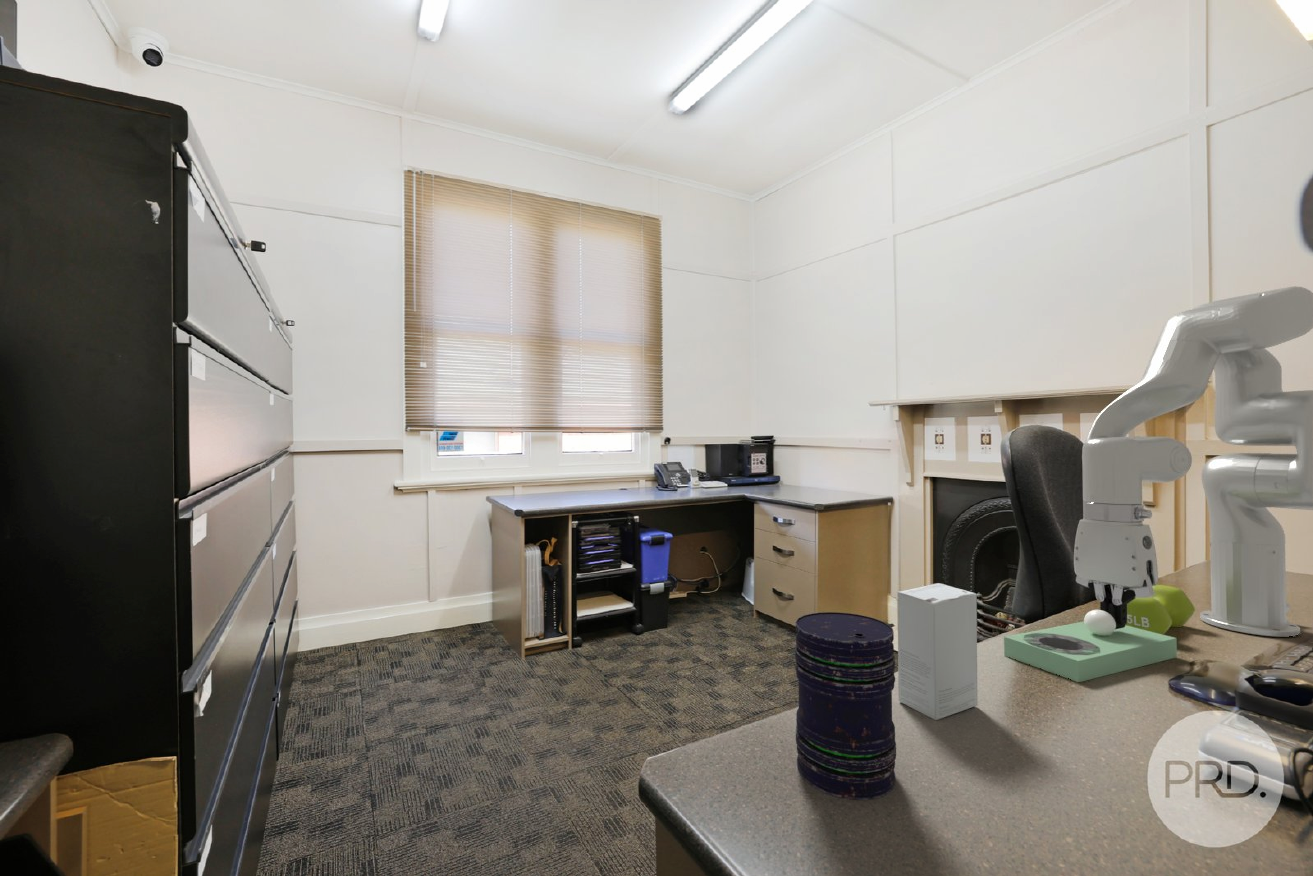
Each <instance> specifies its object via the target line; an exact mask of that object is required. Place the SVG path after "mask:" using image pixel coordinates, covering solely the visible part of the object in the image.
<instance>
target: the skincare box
mask: <svg viewBox="0 0 1313 876" xmlns="http://www.w3.org/2000/svg"><path fill="white" fill-rule="evenodd" d="M896 593H897V668H898V669H897V671H898V672H897V673H898V676H897V677H898V680H897V681H898V682H897V683H898V685H897V687H898V688H897V689H898V701H899V702H900V703H901V704H904V705H905V706H907V707H909V708H910V709H911V708H912V709H913V710H915V711H916V712H919V713H921V714H923V715H924V716H926V717H929V718H931V719H932V720H934V721H938V720H941V719H943V718H945V717H949V716H951V715H954V714H956V713H960V712H962V711H966V710H969V709H970V708H974V707H976V706H978V705H979V704H978V703H979V702H978V692H979V691H978V630H977V629H978V621H977V620H978V617H977V615H978V614H977V613H978V612H977V607H978V606H977V599H978V597H977V596H978V595H977V593H975V592H972V591H969V590H965V589H961V588H957V587H954V586H951V585H947V584H944V583H939V582H937V583H931V584H928V585H925V586H920V587H914V588H911V589H905V590H899V591H897V592H896Z"/></svg>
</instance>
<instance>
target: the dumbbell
mask: <svg viewBox="0 0 1313 876" xmlns="http://www.w3.org/2000/svg"><path fill="white" fill-rule="evenodd" d="M1152 587H1153V590H1154V594H1155V595H1154V596H1153V597H1148V598H1135V599H1134V600H1132V601H1131V602H1130V603H1128V604H1127V623H1126V624H1125V625H1127V626H1131V627H1135V628H1139V629H1143V630H1146V631H1150V632H1154V633H1158V634H1162V635H1166V633H1167V632H1168V630H1169V629H1170V627H1171V628H1180V627H1183V626H1184V625H1185V624H1186V623H1188V621H1189V620H1190V619H1191V618H1192V617H1193V615H1194V614H1195V611H1196V608H1195V606H1194V604H1193V602H1192V601H1191V600H1190V598H1189V596H1188V595H1187V594H1186V593H1185V592H1184V591H1183V590H1182V589H1181V588H1179V587H1175V586H1172V585H1171V586H1169V585H1163V584H1157V585H1155V586H1152Z"/></svg>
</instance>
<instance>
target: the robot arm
mask: <svg viewBox="0 0 1313 876" xmlns="http://www.w3.org/2000/svg"><path fill="white" fill-rule="evenodd" d="M1312 329H1313V292H1312V291H1311V290H1310V289H1308V288H1306V287H1302V286H1287V287H1283V288H1281V287H1280V288H1276V289H1272V290H1266V291H1261V292H1256V293H1251V294H1245V295H1240V296H1234V297H1228V298H1225V299H1218V300H1215V301H1211V302H1210V301H1209V302H1208V303H1204V304H1201V305H1199V306H1196V307H1194V308H1192V309H1188V310H1185V311H1181V312H1179V313H1177V314H1174V315H1173V316H1171V317H1170V318H1169V319H1168V320H1167V321H1166V322H1165V324H1164V325H1163V327H1162V329H1161V331H1160V334H1159V336H1158V339H1157V341H1156V343H1155V346H1154V348H1153V351H1152V353H1151V355H1150V359H1149V360H1148V363H1147V366H1146V367H1145V370H1144V372H1143V374H1142V378H1141V379H1140V381H1139V382H1138V383H1136V384H1135V385H1133V386H1132V387H1131V388H1129V389H1127V390H1126V391H1125V392H1123V393H1122V394H1121V395H1119V396H1118V397H1117V398H1115V399H1114V400H1113V401H1111V403H1110V404H1108V405H1107V406H1106V407H1104V408H1103V410H1101V412H1099V414H1098V415H1097V416H1096V418H1094V421H1093V422H1092V424H1091V428H1090V429H1089V432H1088V433H1087V437H1086V438H1085V439H1086V440H1085V442H1084V443H1083V445H1082V454H1081V460H1082V463H1081V464H1082V516H1083V517H1082V519H1080V520H1079V522H1078V524H1077V528H1076V534H1075V540H1074V550H1073V551H1074V552H1073V568H1074V573H1075V575H1076V577H1075V582H1076V583H1077V584H1079V585H1082V586H1084V587H1085V588H1089V590H1091V592H1092V593H1093V594H1094V595H1095V598H1096V600H1097V601H1098V602H1099V604H1100V606H1099V610H1103V611H1105V612H1107V613H1109V614H1110V615H1111V616H1112V617H1113V618H1114V620H1115V622H1116V628H1115V629H1120V628H1124V627H1125V624H1126V623H1127V604H1128V603H1130V602H1131V601H1132V600H1134V599H1135V598H1148V597H1153V596H1154V595H1155V594H1154V590H1153V587H1152V586H1155V585H1158V583H1159V570H1158V569H1159V568H1158V560H1157V552H1156V546H1155V543H1154V537H1153V534H1152V531H1151V527H1150V525H1149V524H1146V523H1145V524H1144V523H1143V522H1144V520H1145V519H1151V518H1152V517H1153V512H1152V510H1151V509H1146V508H1144V507H1145V506H1144V504H1143V483H1171V482H1174V481H1177V480H1179V479H1181V478H1183V477H1184V476H1185V475H1187V473H1188V472H1189V471H1190V469H1191V467H1192V462H1193V459H1192V458H1193V457H1192V453H1191V451H1190V449H1189V448H1188V447H1187V446H1186V445H1185V444H1184V443H1183V442H1182V441H1180V440H1178V439H1175V438H1174V437H1172V438H1171V437H1167V436H1128V434H1129V433H1131V432H1132V431H1133V430H1134V429H1136V428H1137V427H1138V426H1140V425H1142V424H1143V423H1145V422H1148V421H1150V420H1152V419H1154V418H1157V417H1159V416H1162V415H1165V414H1168V413H1170V412H1173V411H1175V410H1178V409H1180V408H1183V407H1186V406H1188V405H1190V404H1193V403H1194V402H1196V401H1198V400H1199V399H1200V398H1202V397H1203V396H1204V394H1205V391H1206V390H1207V387H1208V384H1209V382H1210V378H1211V376H1212V374H1213V372H1214V384H1215V385H1214V386H1215V387H1214V388H1215V391H1214V430H1215V434H1216V436H1217V438H1218V439H1219V440H1220V441H1221V442H1223V443H1224V444H1225V443H1226V444H1229V445H1233V446H1243V447H1244V446H1245V447H1255V446H1256V447H1257V446H1258V447H1262V446H1263V447H1271V446H1272V447H1278V446H1279V447H1295V449H1296V453H1270V452H1269V453H1268V452H1267V453H1266V452H1263V453H1262V452H1238V453H1234V452H1233V453H1226V454H1219V455H1217V456H1214V457H1212V458H1210V459H1209V460H1208V461H1206V462H1205V464H1204V465H1203V467H1202V469H1201V482H1202V487H1203V490H1204V494H1205V497H1206V502H1207V508H1208V515H1209V517H1208V518H1209V537H1210V538H1209V541H1210V542H1209V543H1210V544H1209V545H1210V546H1209V547H1210V551H1209V552H1210V554H1209V555H1210V589H1211V591H1210V595H1211V597H1210V599H1211V610H1210V609H1208V610H1203V611H1201V612H1200V613H1199V617H1200V620H1201V621H1202V622H1204V623H1206V624H1208V625H1210V626H1211V625H1212V626H1214V627H1217V628H1221V629H1225V630H1229V631H1233V632H1239V633H1244V634H1251V635H1257V636H1262V637H1263V636H1265V637H1277V638H1289V636H1293V637H1296V636H1295V635H1297V634H1299V633H1300V634H1301V627H1300V626H1299V625H1297V624H1295V623H1293V622H1290V621H1287V617H1288V615H1287V612H1289V611H1290V610H1291V606H1290V604H1289V603H1287V579H1286V578H1287V575H1286V574H1287V573H1286V568H1287V567H1286V534H1285V530H1284V528H1283V526H1282V524H1281V523H1280V522H1279V520H1278V519H1277V518H1276V517H1275V516H1274V514H1272V513H1271V512H1270V510H1269V509H1267V508H1274V509H1279V508H1280V509H1287V510H1289V509H1291V510H1302V511H1303V510H1304V511H1305V510H1306V511H1307V510H1308V511H1313V389H1312V390H1309V389H1307V390H1294V391H1293V390H1292V391H1283V387H1282V386H1283V385H1282V384H1283V383H1282V382H1283V381H1282V376H1283V375H1282V374H1283V373H1282V365H1281V362H1279V360H1278V359H1277V358H1276V357H1275V356H1274V355H1273V353H1271V351H1269V350H1268V348H1273V347H1276V346H1278V345H1281V344H1283V343H1286V342H1290V341H1292V340H1295V339H1297V338H1300V337H1303V336H1305V335H1306V334H1308V333H1309V332H1310V331H1312Z"/></svg>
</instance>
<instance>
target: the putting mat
mask: <svg viewBox="0 0 1313 876" xmlns="http://www.w3.org/2000/svg"><path fill="white" fill-rule="evenodd" d="M1003 640H1004V641H1003V645H1004V647H1003V649H1004V652H1003V653H1004V655H1005V656H1004V657H1006V658H1009V657H1010V658H1011V659H1013V660H1015V659H1016V661H1018V662H1021V663H1023V664H1026V665H1029V664H1030V665H1029V666H1032V667H1034V668H1038V669H1040V668H1041V669H1040V670H1043V671H1046V672H1049V673H1051V674H1054V675H1056V674H1057V675H1056V676H1059V675H1060V677H1063V678H1065V679H1068V678H1069V679H1068V680H1070V679H1071V681H1074V682H1076V683H1082V682H1086V681H1089V680H1092V679H1097V678H1098V679H1099V678H1100V677H1105V676H1110V675H1113V674H1117V673H1120V672H1124V671H1129V670H1133V669H1136V668H1140V667H1143V666H1144V667H1145V666H1147V665H1152V664H1157V663H1160V662H1163V661H1168V660H1172V659H1176V658H1177V657H1178V649H1177V648H1178V645H1177V643H1178V642H1177V640H1178V639H1177V637H1174V636H1171V635H1166V634H1164V635H1162V634H1158V633H1154V632H1150V631H1146V630H1143V629H1139V628H1135V627H1131V626H1127V625H1125V627H1124V628H1120V629H1115V630H1114V632H1113V633H1112V634H1110V635H1107V636H1099V635H1096V634H1093V633H1092V632H1090V631H1089V630H1088V629H1087V627H1086V626H1085V623H1084V620H1083V621H1080V622H1079V621H1078V622H1074V623H1068V624H1064V625H1058V626H1054V627H1048V628H1042V629H1038V630H1032V631H1027V632H1022V633H1016V634H1011V635H1007V636H1004V637H1003ZM1010 658H1009V659H1010Z"/></svg>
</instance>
